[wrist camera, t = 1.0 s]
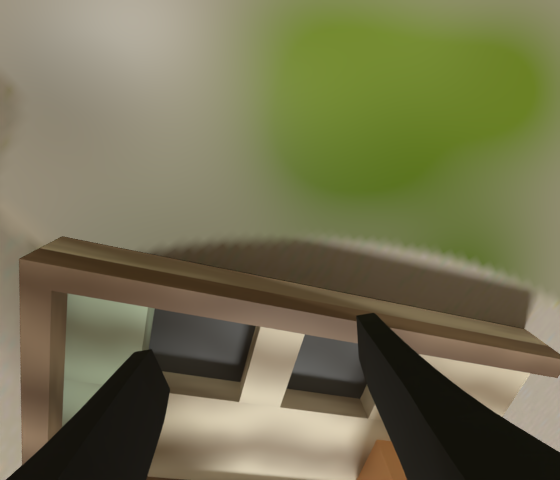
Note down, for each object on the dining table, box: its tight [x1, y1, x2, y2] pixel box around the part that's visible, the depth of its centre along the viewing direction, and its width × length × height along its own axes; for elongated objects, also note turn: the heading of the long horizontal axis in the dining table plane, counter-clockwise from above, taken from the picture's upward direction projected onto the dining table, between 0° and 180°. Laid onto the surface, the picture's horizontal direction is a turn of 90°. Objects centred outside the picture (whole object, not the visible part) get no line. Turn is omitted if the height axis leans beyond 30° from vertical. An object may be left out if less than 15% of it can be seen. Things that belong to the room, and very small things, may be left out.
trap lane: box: [19, 237, 560, 480], centre depth 22 cm, size 19×34×4 cm, turn 75°
